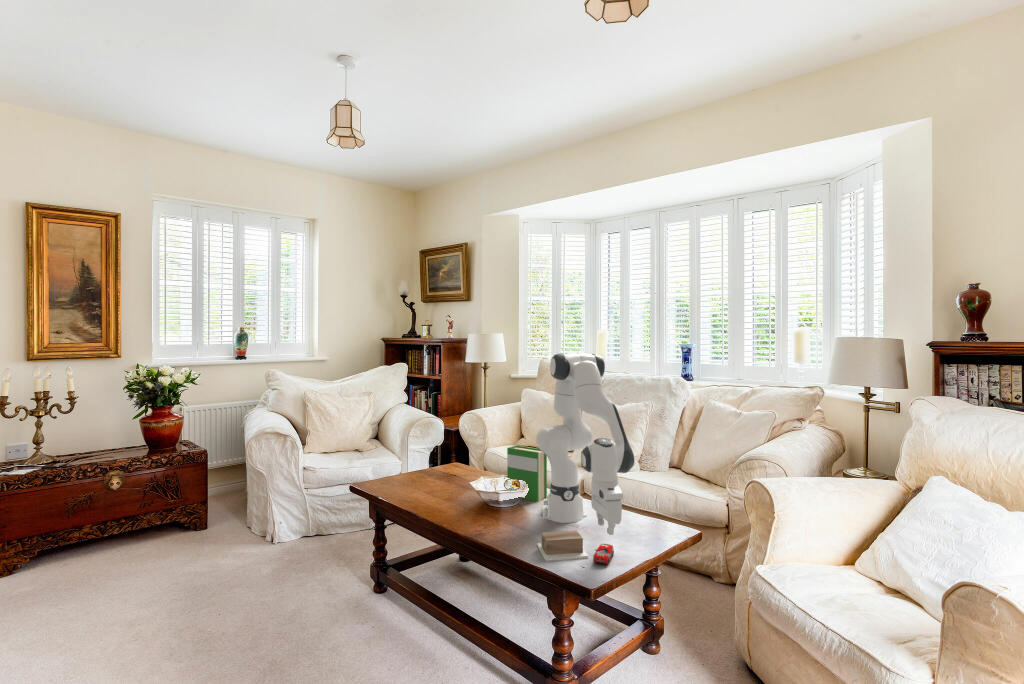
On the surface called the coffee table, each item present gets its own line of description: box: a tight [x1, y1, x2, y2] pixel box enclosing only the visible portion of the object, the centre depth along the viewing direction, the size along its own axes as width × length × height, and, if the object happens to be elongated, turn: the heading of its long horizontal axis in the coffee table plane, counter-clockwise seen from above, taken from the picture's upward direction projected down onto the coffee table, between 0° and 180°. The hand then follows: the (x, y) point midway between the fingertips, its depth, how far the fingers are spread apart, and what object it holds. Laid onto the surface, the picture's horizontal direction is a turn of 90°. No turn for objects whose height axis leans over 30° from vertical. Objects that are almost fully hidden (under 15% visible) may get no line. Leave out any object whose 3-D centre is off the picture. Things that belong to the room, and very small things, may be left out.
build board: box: [536, 542, 589, 562], centre depth 189 cm, size 14×15×1 cm
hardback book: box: [506, 444, 548, 503], centre depth 252 cm, size 18×7×24 cm, turn 51°
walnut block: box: [540, 529, 584, 555], centre depth 189 cm, size 8×13×5 cm, turn 99°
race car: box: [592, 543, 615, 565], centre depth 183 cm, size 13×5×4 cm, turn 157°
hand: (605, 529), depth 179 cm, fingers open, 8 cm apart
